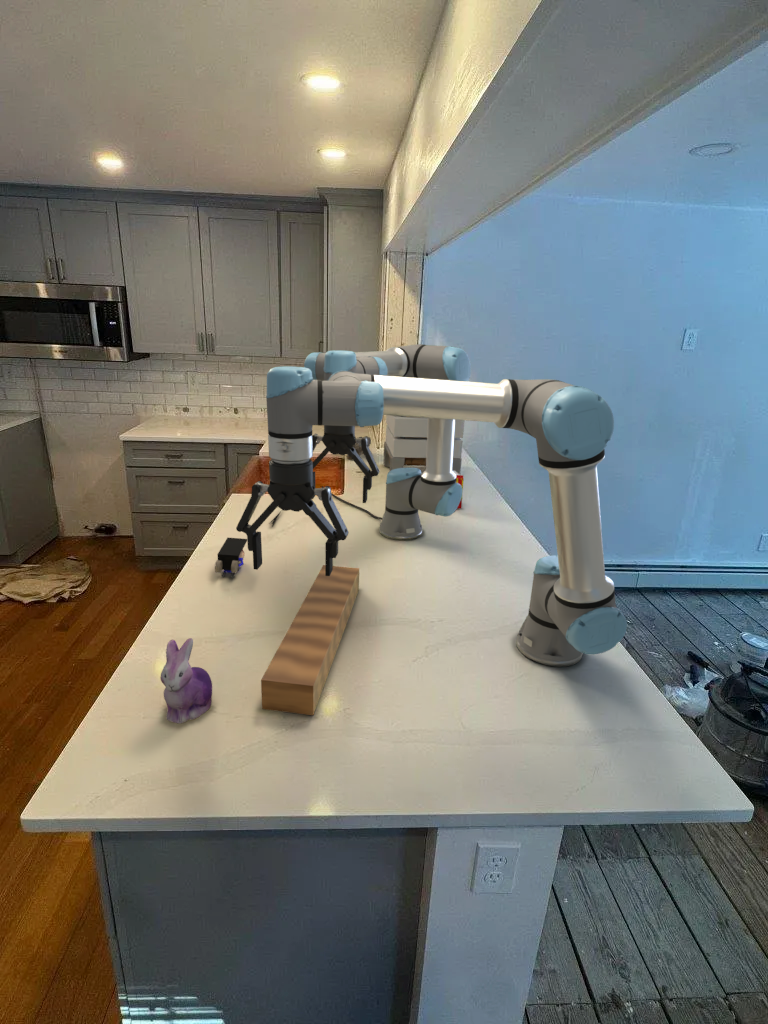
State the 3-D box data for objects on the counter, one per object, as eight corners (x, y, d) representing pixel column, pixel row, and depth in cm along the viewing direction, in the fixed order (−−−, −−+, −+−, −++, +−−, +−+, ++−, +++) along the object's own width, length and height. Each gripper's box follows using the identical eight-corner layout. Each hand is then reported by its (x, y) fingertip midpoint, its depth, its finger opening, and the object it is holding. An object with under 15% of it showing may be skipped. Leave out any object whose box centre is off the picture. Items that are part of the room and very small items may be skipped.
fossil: (346, 442, 311) (368, 427, 306) (357, 455, 314) (379, 440, 309) (340, 456, 291) (363, 440, 286) (351, 470, 294) (374, 454, 289)
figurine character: (238, 584, 162) (249, 557, 175) (236, 562, 158) (247, 536, 172) (215, 584, 161) (227, 556, 175) (212, 561, 158) (225, 535, 171)
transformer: (382, 463, 289) (386, 382, 275) (445, 464, 293) (451, 384, 279) (390, 482, 257) (394, 392, 243) (460, 483, 261) (468, 394, 247)
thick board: (322, 586, 160) (323, 564, 158) (358, 590, 159) (359, 568, 157) (262, 709, 111) (260, 679, 108) (313, 715, 110) (313, 686, 107)
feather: (288, 505, 226) (290, 501, 226) (271, 529, 199) (273, 524, 199) (284, 503, 226) (287, 499, 225) (266, 526, 199) (269, 522, 199)
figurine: (167, 732, 103) (160, 663, 98) (160, 699, 112) (153, 633, 107) (220, 718, 108) (215, 650, 103) (209, 687, 116) (204, 623, 111)
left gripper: (285, 416, 136) (287, 500, 143) (388, 422, 133) (385, 507, 140) (293, 410, 143) (295, 491, 150) (392, 417, 140) (388, 498, 147)
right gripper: (213, 459, 96) (221, 572, 103) (358, 469, 93) (355, 584, 101) (230, 449, 103) (236, 555, 110) (365, 458, 100) (362, 566, 108)
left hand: (338, 499), depth 145 cm, fingers open, 13 cm apart
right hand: (293, 569), depth 106 cm, fingers open, 13 cm apart
